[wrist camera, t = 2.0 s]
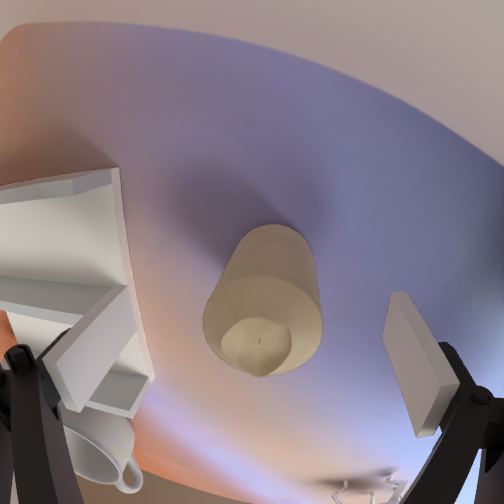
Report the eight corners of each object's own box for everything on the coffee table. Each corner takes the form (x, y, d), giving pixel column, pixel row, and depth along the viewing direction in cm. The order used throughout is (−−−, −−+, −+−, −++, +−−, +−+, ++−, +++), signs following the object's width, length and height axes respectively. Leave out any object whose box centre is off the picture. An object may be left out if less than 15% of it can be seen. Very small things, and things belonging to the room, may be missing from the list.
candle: (309, 299, 23) (314, 400, 13) (234, 293, 23) (197, 387, 14) (317, 225, 21) (335, 297, 12) (235, 219, 21) (189, 284, 12)
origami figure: (424, 463, 29) (431, 493, 24) (401, 492, 32) (405, 518, 27) (336, 470, 30) (337, 503, 26) (322, 497, 33) (322, 525, 29)
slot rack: (119, 167, 21) (71, 178, 16) (155, 376, 28) (132, 418, 22) (-15, 189, 23) (-55, 202, 18) (27, 347, 30) (0, 373, 25)
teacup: (53, 381, 31) (19, 422, 24) (105, 369, 29) (67, 422, 21) (118, 453, 35) (97, 495, 27) (177, 452, 32) (158, 503, 25)
